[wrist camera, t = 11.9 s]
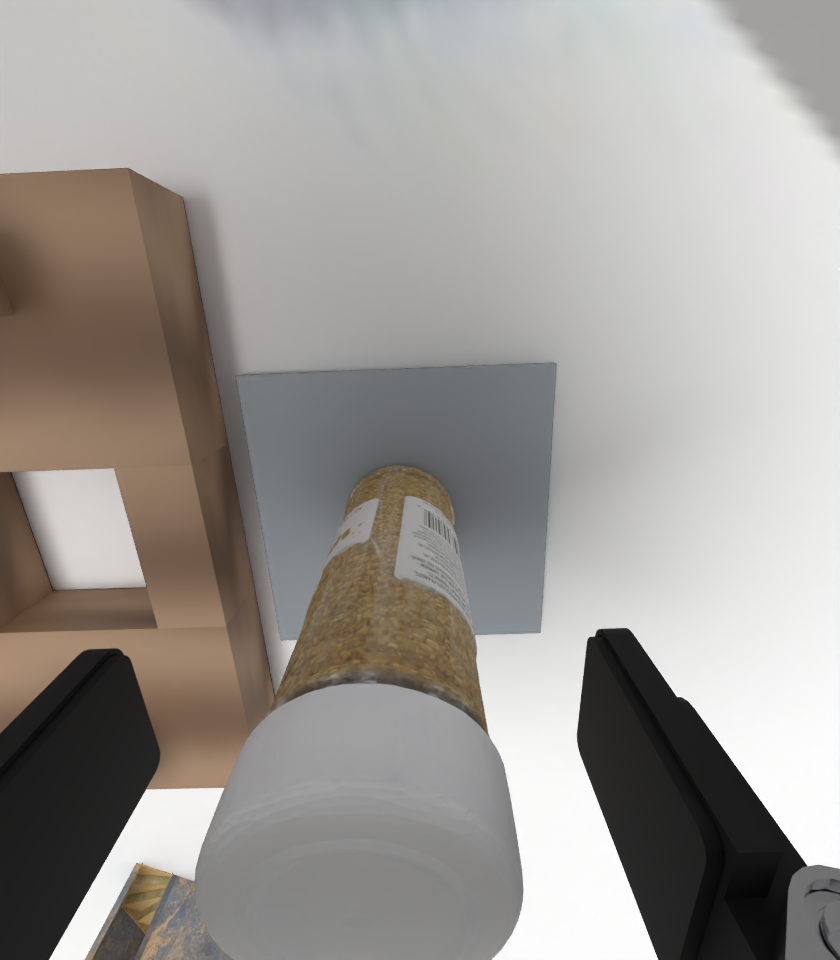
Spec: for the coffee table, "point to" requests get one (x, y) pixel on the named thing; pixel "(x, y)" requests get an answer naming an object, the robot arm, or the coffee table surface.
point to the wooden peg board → (124, 462)
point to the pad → (414, 443)
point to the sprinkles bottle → (371, 763)
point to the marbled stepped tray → (155, 922)
